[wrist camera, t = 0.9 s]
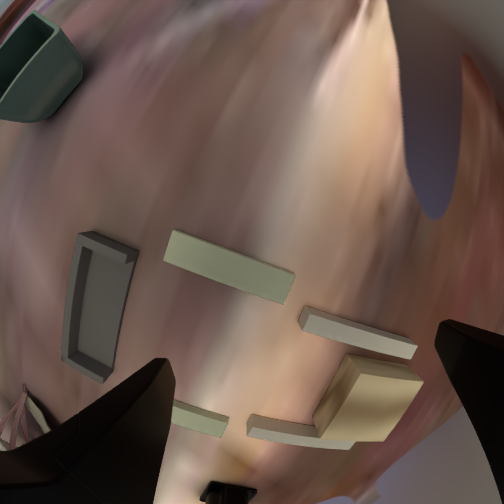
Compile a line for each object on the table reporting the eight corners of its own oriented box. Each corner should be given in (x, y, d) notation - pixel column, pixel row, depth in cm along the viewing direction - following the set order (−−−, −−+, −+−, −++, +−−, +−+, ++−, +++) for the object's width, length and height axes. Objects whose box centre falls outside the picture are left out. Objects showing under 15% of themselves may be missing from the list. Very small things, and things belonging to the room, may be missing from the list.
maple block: (371, 419, 25) (383, 441, 21) (311, 414, 24) (319, 439, 20) (405, 363, 24) (423, 381, 20) (345, 352, 23) (360, 373, 19)
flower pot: (72, 43, 18) (32, 8, 9) (106, 71, 19) (61, 27, 10) (23, 102, 19) (-25, 81, 10) (49, 139, 20) (-11, 119, 11)
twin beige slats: (344, 438, 25) (348, 449, 23) (246, 423, 24) (246, 436, 22) (407, 338, 23) (417, 346, 21) (304, 305, 22) (310, 313, 20)
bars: (221, 431, 24) (220, 437, 23) (131, 399, 23) (128, 405, 22) (293, 272, 22) (295, 275, 21) (176, 229, 21) (172, 230, 20)
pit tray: (112, 371, 23) (102, 384, 20) (73, 350, 22) (61, 360, 20) (139, 250, 21) (127, 254, 19) (92, 231, 21) (77, 233, 19)
